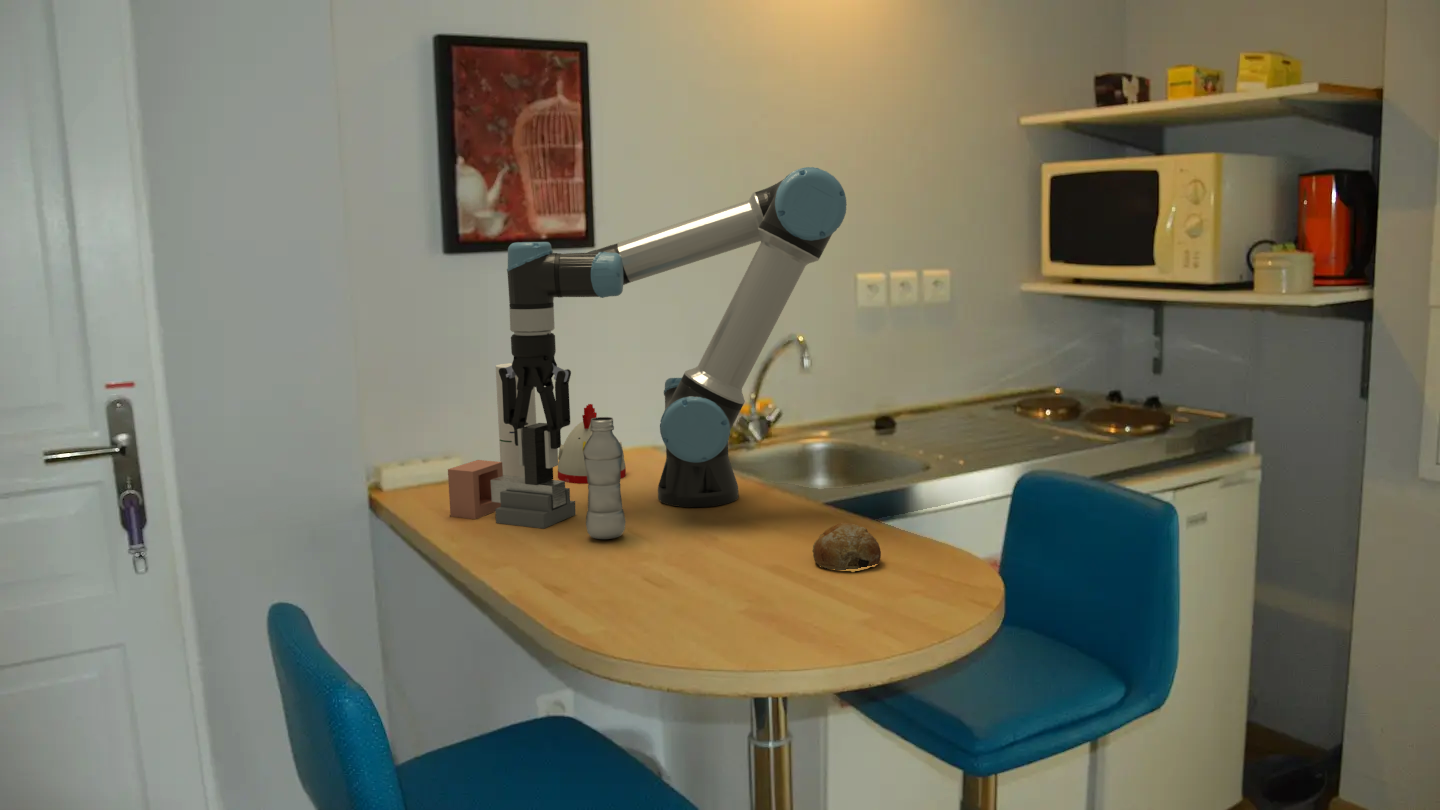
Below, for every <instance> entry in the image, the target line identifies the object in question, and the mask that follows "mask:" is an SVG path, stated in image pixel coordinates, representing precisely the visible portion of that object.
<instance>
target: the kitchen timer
mask: <svg viewBox="0 0 1440 810" xmlns="http://www.w3.org/2000/svg"><path fill="white" fill-rule="evenodd" d="M595 409H596V408H595V407H594V404H593V403H588V404H587V405H586V406H585V407H583V414H582V416H581V417H582V421H581V422H579V423H578V424H577V425H576V426H574V427H573V429H571V431H570V433H569V434H568V435H567V437H566V439H565V441H564V443H563V444H562V443H561V446H560V448H558V449H559V450H558V466H557V479H558V480H559V481H565V483H569V484H577V485H580V484H581V485H588V481H587V472H586V466H585V461H584V455H583V450H584V446H585V444H586V443H587V441H588V439H589V438H590V436H591V435H592V431H591V430H590V427H591V419H592V418H596V417H598V415H597V411H596V410H595ZM619 443H620V444H621V447H622V463H621V479H620V480H622V479H624V477H626V475H627V474H626V473H627V471H626V469H627V468H626V462H625V453H624V450H623V446H622V445H623V444H622V442H621V441H619Z"/></svg>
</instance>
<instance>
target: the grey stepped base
mask: <svg viewBox="0 0 1440 810" xmlns="http://www.w3.org/2000/svg"><path fill="white" fill-rule="evenodd" d="M570 489H571V488H570V487H569V488H568V487H565V495H566V503H565V504H563V505H561V506H558V507H556V508H553V509H552V503H551V496H550V495H541V494H531V493H522V492H512V491H501V492H500V500H501V507H499V508H497V509H495V512H494V513H495V524H500V525H501V524H502V525H510V526H511V525H512V526H518V527H519V526H520V527H526V528H536V529H546V528H548V527H551V526H553V525H555V524H558V523H560V522H562V521H564V520H566V519H569V518H571V517H573V516H576V501H575V500H571V490H570Z"/></svg>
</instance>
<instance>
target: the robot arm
mask: <svg viewBox="0 0 1440 810" xmlns="http://www.w3.org/2000/svg"><path fill="white" fill-rule="evenodd" d="M846 214H847V197H846V193H845V190H844V188H843V186H842V184H841V182H840V181H839V180H838V179H837V178H836V176H834V175H833V174H831V173H829V172H828V171H827V170H823V169H821V168H819V167H813V166H812V167H809V166H807V167H801V168H798V169H796V170H794V171H791V172H790V173H789V174H788V175H786V176H785V178H783V179H781V180H780V181H778V182H777V183H775V184H772V185H771V186H768V187H766V188H764V189H761V190H758V191H754V192H752V194H751V197H750V198H749V199H748V200H745V201H742V202H739V203H736V204H733V205H730V206H727V207H724V208H721V209H717V210H714V211H712V212H709V213H705V214H703V215H700V216H696V217H692V218H690V219H687V220H684V221H681V222H678V223H674V224H672V225H669V226H665V227H662V228H659V229H656V230H653V231H650V232H647V233H644V234H641V235H638V236H635V237H632V238H628V239H626V240H623V241H620V242H617V243H614V244H610V245H607V246H604V247H601V248H598V249H594V250H590V251H588V252H575V253H574V252H573V253H572V252H570V253H569V252H568V253H560V252H559V253H558V252H553V249H552V244H551V243H550V242H549V241H522V242H519V241H517V242H512V243H511V244H510V245H509V246H508V248H507V268H506V271H507V273H506V274H507V282H508V287H507V288H508V301H509V309H508V310H509V330H510V331H511V332H513V334H512V335H511V336H510V347H511V348H510V349H511V354H512V356H513V360H512V362H511V363H512V365H511V366H509V367H505V368H500V369H499V374H500V377H501V380H502V394H503V418H504V423H505V424H510V425H512V426H513V428H514V437H515V445H516V446H518V453H519V466H524V448H523V427H524V426H525V425H528V423H527V422H526V420H527V414H528V409H529V403H530V397H531V391H532V390H533V388H534V387H535V390H536V392H537V393H538V394H539V397H540V401H541V405H542V410H543V412H544V417H545V421H546V423H547V425H548V428H547V429H546V431H544V435H545V458H546V468H552V467H553V468H555V467H558V463H559V459H558V457H559V450H558V449H560V446H561V444H562V440H561V437H562V436H561V430H562V429H563V428H565V427H569V426H570V425H571V407H570V388H569V382H570V379H571V376H572V375H571V374H572V371H571V370H570V369H569V368H567V369H563V368H561V367H559V366H558V364H557V362H556V360H555V356H556V350H557V349H556V335H555V334H554V333H553V332H552V331H554V330H555V309H554V308H555V307H554V306H555V304H554V301H555V300H554V299H555V298H600V299H601V298H602V299H604V298H608V297H617V296H618V297H619V296H621V294H622V293H623V290H624V286H625V285H628V284H630V283H633V282H636V281H639V280H642V279H646V278H649V277H651V276H655V275H659V274H661V273H664V272H667V271H671V270H673V269H677V268H680V267H683V266H684V267H685V266H686V265H690V264H693V263H696V262H699V261H701V260H705V259H709V258H711V257H715V256H718V255H721V254H723V253H727V252H730V251H734V250H736V249H739V248H743V247H746V246H748V245H752V244H756V243H758V242H760V243H759V246H758V247H757V249H756V252H755V254H754V255H753V257H752V259H751V261H750V263H749V265H748V267H747V269H746V271H745V273H744V275H743V277H742V279H741V281H740V283H739V284H738V286H737V289H736V290H735V291H734V295H733V296H732V299H731V300H730V302H729V304H728V306H727V308H726V310H725V312H724V314H723V316H722V318H721V319H720V322H719V324H718V326H717V327H716V330H715V332H714V334H713V335H712V338H711V339H710V342H709V344H708V346H707V348H705V351H704V353H703V355H702V357H701V358H700V361H699V363H698V365H697V366H696V367H693V368H691V369H687V370H685V371H684V373H683V375H682V377H670V378H667V379H666V380H665V382H664V390H663V396H664V411H663V413H662V416H661V418H660V423H659V433H660V437H661V440H662V441H663V444H664V446H665V448H666V449H665V452H666V454H665V455H666V457H665V463H664V466H663V469H662V473H661V476H660V479H659V482H658V486H657V499H658V501H659V502H661V503H662V504H665V505H669V506H674V507H675V506H676V507H681V508H683V507H685V508H708V507H716V506H722V505H727V504H731V503H733V502H735V501H737V500H738V498H739V484H738V481H737V478H736V476H735V472H734V470H733V467H732V465H731V461H730V457H729V440H730V436H731V430H732V428H733V425H734V424H735V422H736V420H737V418H738V417H739V415H740V412H741V410H742V409H743V406H744V404H745V403H746V401H745V400H746V399H745V397H744V395H743V387H744V386H745V383H746V382H747V379H748V378H749V376H750V374H751V373H752V370H753V368H754V366H755V364H756V362H757V361H758V358H759V357H760V354H761V352H762V350H763V349H764V347H765V345H766V343H767V342H768V339H769V337H770V335H771V333H772V332H773V329H774V328H775V326H776V324H777V322H778V319H779V318H780V316H781V314H782V312H783V311H784V308H785V306H786V305H787V302H788V300H789V299H790V297H791V296H792V294H793V291H794V289H795V287H796V285H797V283H798V281H799V279H800V278H801V275H802V273H803V272H804V270H805V268H806V266H807V265H808V264H811V263H815V262H818V261H820V259H821V256H822V255H823V253H824V250H825V249H826V247H827V245H828V243H829V241H830V239H831V237H832V235H833V234H834V233H835V232H836V231H837V229H838V228H840V226H841V225H842V224H843V222H844V219H845V216H846ZM516 375H517V377H518V383H517V390H518V393H517V397H516V379H515V376H516ZM552 378H553V379H552ZM553 380H555V382H553Z"/></svg>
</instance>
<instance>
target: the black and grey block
mask: <svg viewBox="0 0 1440 810" xmlns="http://www.w3.org/2000/svg"><path fill="white" fill-rule="evenodd" d="M547 428H548V425H547V422H536V424H533V425H530V426H526V427H523V448H524V470H525V477H518V476H507V475H503V476H500V477H497V478H495V479H492V480H491V498H492V502H498V503H501V500H500V492H501V491H512V492H522V493H531V494H541V495H550V496H551V503H552V509H553V508H556V507H558V506H561V505H563V504H565V503H566V495H565V488H566V482H565V481H561V480H559V479H558V480H557V479H554V467H552V468H546V458H545V435H544V431H546V429H547Z"/></svg>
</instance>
